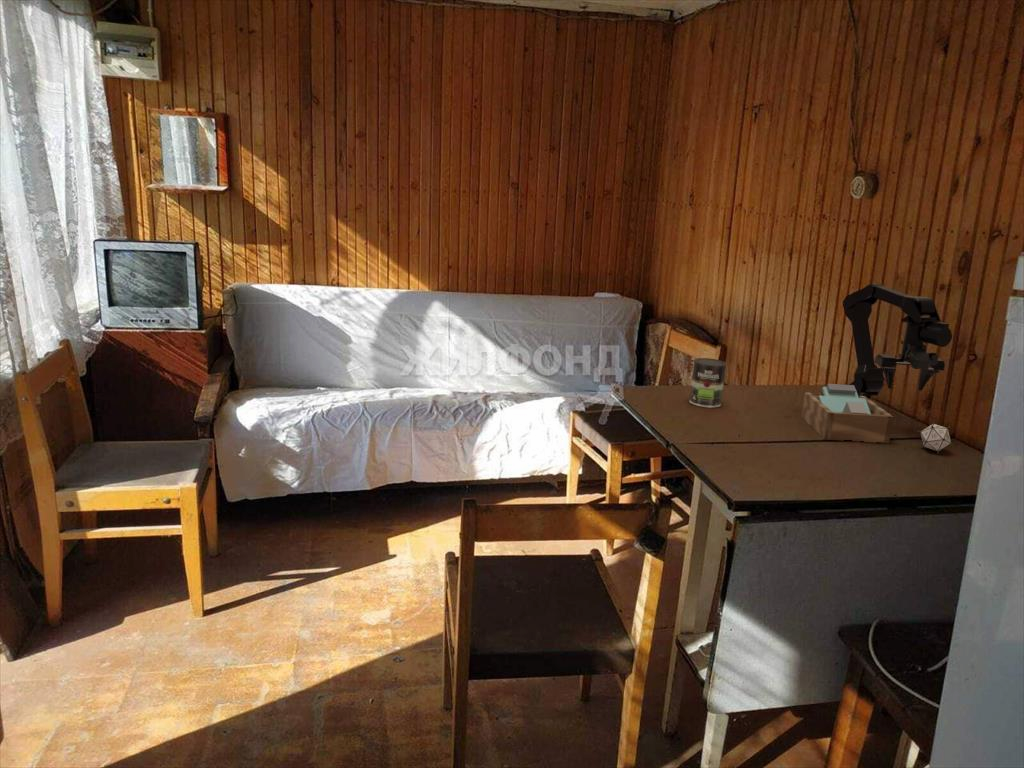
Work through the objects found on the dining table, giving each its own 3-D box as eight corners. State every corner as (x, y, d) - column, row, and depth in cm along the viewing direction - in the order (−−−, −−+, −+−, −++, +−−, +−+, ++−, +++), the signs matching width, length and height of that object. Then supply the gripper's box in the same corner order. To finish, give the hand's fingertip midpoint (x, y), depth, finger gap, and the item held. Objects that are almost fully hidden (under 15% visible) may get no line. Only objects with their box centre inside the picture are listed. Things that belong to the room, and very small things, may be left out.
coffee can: (720, 409, 251) (726, 367, 247) (687, 405, 254) (692, 363, 250) (721, 401, 261) (727, 360, 257) (690, 397, 263) (695, 356, 260)
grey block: (840, 416, 234) (846, 401, 230) (856, 417, 234) (863, 402, 230) (844, 427, 230) (851, 412, 226) (861, 428, 230) (867, 413, 226)
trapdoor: (815, 388, 243) (818, 382, 242) (860, 391, 243) (863, 385, 241) (828, 431, 231) (831, 426, 229) (876, 434, 230) (879, 429, 229)
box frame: (801, 416, 248) (805, 392, 246) (860, 420, 248) (864, 396, 246) (824, 439, 227) (828, 413, 225) (888, 443, 227) (893, 417, 225)
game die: (924, 460, 226) (919, 427, 229) (957, 456, 221) (952, 423, 225) (918, 452, 219) (913, 418, 223) (953, 448, 214) (947, 413, 218)
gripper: (894, 343, 226) (884, 395, 230) (959, 347, 226) (948, 399, 230) (878, 335, 237) (869, 385, 241) (941, 339, 236) (930, 388, 240)
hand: (904, 389), depth 238 cm, fingers open, 9 cm apart
